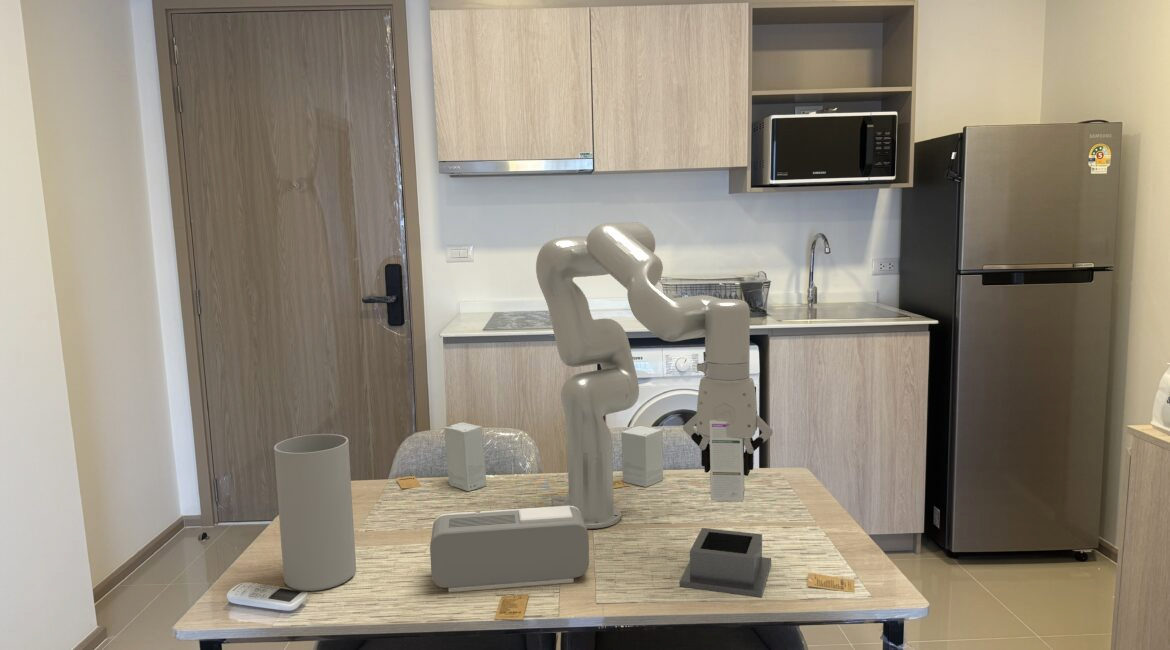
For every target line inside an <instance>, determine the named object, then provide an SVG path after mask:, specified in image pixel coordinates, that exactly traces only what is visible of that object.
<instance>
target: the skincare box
mask: <svg viewBox="0 0 1170 650" xmlns="http://www.w3.org/2000/svg"><path fill="white" fill-rule="evenodd" d="M444 438H445V439H444V440H445V441H444V442H445V453H446V463H447V464H446V465H447V466H446V467H447V474H448V475H447V476H448V485H449V486H451V487H454V488H457V489H460V490H462V491H463V490H464V491H467V492H470V491H472V490H474V491H475V490H477V489H481V488H484V487H487V473H486V460H485V451H484V439H483V426H482V425H476V424H471V423H467V422H464V421H463V422H459V423H455V424H452V425H447V426H445V427H444Z"/></svg>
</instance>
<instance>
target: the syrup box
mask: <svg viewBox="0 0 1170 650" xmlns="http://www.w3.org/2000/svg"><path fill="white" fill-rule="evenodd" d="M709 423H710V442H709V444H710V471H709V475H710V479H709V480H710V500H711V501H714V502H730V503H734V502H735V503H744V500H745V499H744V498H745V475H744V452H745V446H744V443H743V439H739V438H731V437H727V434H726V426H728V425H730V423H729V424H727V425H726V423H728V422H726V421H725V420H710V421H709Z"/></svg>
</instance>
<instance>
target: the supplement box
mask: <svg viewBox="0 0 1170 650" xmlns="http://www.w3.org/2000/svg"><path fill="white" fill-rule="evenodd" d="M620 433H621V459H622V461H621V465H622V469H621V470H622V482H623V483H627V484H630V485H636V486H639V487H643V488H644V487H645V488H648V487H650V486H652V485H655V484H657V483H660V482H661V481H663V480H664V464H663V463H664V462H663V461H664V458H663V457H664V456H663V455H664V454H663V453H664V452H663V451H664V450H663V448H664V447H663V429H658V428H653V427H647V426H641V425H638V426H634V427H632V428H628V429H626V430H623V431H621V432H620Z"/></svg>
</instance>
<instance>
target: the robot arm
mask: <svg viewBox="0 0 1170 650" xmlns="http://www.w3.org/2000/svg"><path fill="white" fill-rule="evenodd" d="M655 239H656V238H655V237H654V234H653V232H652V231H651V230H650V229H649V227H648V226H646V225H644V224H643V223H639V222H633V221H629V222H628V221H627V222H625V221H624V222H605V223H602V224H599V225H597V226H595V227H594V228H593V229H590V232H589V233H588V234H587V235H586V236H577V235H576V236H563V237H556V238H554V239H550V240H549V241H547V242H545V243H544V244H543V246H541V248H540V249H539V251H538V253H537V256H536V257H537V258H536V262H535V273H536V278H537V282H538V285H539V288H540V291H541V292H542V295H543V297H544V300H545V302H546V305H547V309H548V311H549V317H550V323H551V325H552V326H551V327H552V329H553V330H552V331H553V335H554V338H555V339H554V340H555V343H556V348H557V352H558V355H559V358H560V360H561V361H562V363H563V364H564V365H565V366H567V367H570V368H580V367H586V366H593V365H600V368H601V369H597V370H591V371H586V372H581V373H577V374H575V375H573V376H571V377H569V378H568V379H566V381H565V382H564V383H563V385H562V388H561V393H560V397H561V398H560V399H561V404H562V408H563V414H564V419H565V427H566V443H567V444H566V445H567V446H566V447H567V475H568V476H567V477H568V478H567V479H568V480H567V481H568V485H567V486H568V494H566V495H565V496H562V495H559V494H552V496H551V504H552V507H555V506H574V507H576V508H578V509H579V511H580V512H581V514H582V517H583V520H584V523H585V525H586V528H587V530H588V529H589V530H590V529H603V528H608V527H610V526H614V525H615V524H617V523H619V521H621V519H622V513H621V510H620V509H619V508H617V507H616V506H614V464H613V463H614V461H613V460H614V459H613V458H614V457H613V437H612V432H611V430H610V428H609V426H608V424H607V423H606V421H605V419H604V416H607V415H610V414H614V413H619V412H623V411H626V410H630V409H632V408H633V407H634V405H636V404H637V401H638V399H639V395H640V387H639V386H640V385H639V380H638V375H637V370H636V366H635V363H634V358H633V353H632V349H631V345H630V341H629V338H628V335H627V333H626V331H625V329H624V328H623V326H622V325H621V324H620V323H619V322H617V320H614V319H611V318H598V319H597V318H596V319H594V318H593V316H592V313H591V311H590V305H589V301H588V298H587V297H586V295H585V293H584V291H583V290H582V289H581V288H580V287H579V286H578V284H577V283H575V281H574V278H582V277H583V278H586V277H595V276H596V277H597V276H606V275H610V276H611V277H612V278H613V279H615V280H616V281H617V282H618V283H619V284H620V285H621V286H622V287H624V288H625V289H626V290H627V293H626V294H627V301H628V306H629V308H630V310H631V313H632V315H633V316H634V317H635V319H636V320H637V321H638V322H639V323H640V324H641V325H642V326H644V327H645V328H646V329H647V330H648V331H649V332H650V333H651V334H653V335H654V336H656V337H657V338H659V339H661V340H663V341H667V342H680V341H684V340H685V341H686V340H691V339H699V338H705V339H704V344H705V345H704V349H705V350H704V351H705V352H704V356H705V359H704V362H702V363H697V364H696V370H697V372H702V373H703V374H704V376H703V377H702V378H700V381H699V385H698V386H699V387H698V392H697V393H698V394H697V401H696V402H697V403H696V405H697V406H696V413H695V414H694V415H693V416H692V417H691V418H690V419H689V420H688V421H686V423H684V425H683V426H682V429H683V431H684V432H685V433H686V434H687V435H688V436H689V437H690V438H691V440H692V441H693V442H694V443H695V444H696V445H697V447H698V448H699V450H701V451H700V455H701V457H700V458H701V460H700V462H701V463H700V464H701V467H704V473H707V474H708V473H710V423H709V421H710V420H725V421H726V422H728V423H726V425H727V424H729V423H730V425H728V426H726V434H727V437H731V438H739V439H743V443H744V477H747V476H748V477H749V474H750V472H751V471H753V470H754V465H755V463H754V462H755V461H754V460H755V459H754V456H755V455H754V454H755V451H756V450H757V449H758V448H760V446H762V444H764V443H765V442H766V441H767V440H769V438H771V436H773V433H774V430H773V429H772V428H771V427H770V426H769V425H768V424H767V423H766V422H765V421H764V420H763V418H761V417H760V415H758V404H757V393H756V387H755V383H754V379H753V378H752V377H750V348H751V345H750V344H751V342H750V336H751V334H750V330H751V329H750V321H751V320H750V319H751V318H750V315H751V312H750V306H749V304H748V303H747V301H745V300H742V299H735V298H719V297H716V296H712V295H707V294H700V295H690V296H682V297H673V298H669V297H668V296H667V295H665V294H664V293H663V292H662V291H660V290H659V289H657V287H656V286H657V284H658V283H659V281H660V280H661V277H662V275H663V272H664V271H663V269H664V267H663V262H662V260H661V258H660V257H659V256H658V255H657V254H655V251H656V240H655ZM695 425H696V427H695ZM695 428H696V429H695ZM758 429H759V430H760V432H761V434H760V435H758V436H757V437H755V439H754V438H753V437H754V436H755V435H756V431H757V430H758Z"/></svg>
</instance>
